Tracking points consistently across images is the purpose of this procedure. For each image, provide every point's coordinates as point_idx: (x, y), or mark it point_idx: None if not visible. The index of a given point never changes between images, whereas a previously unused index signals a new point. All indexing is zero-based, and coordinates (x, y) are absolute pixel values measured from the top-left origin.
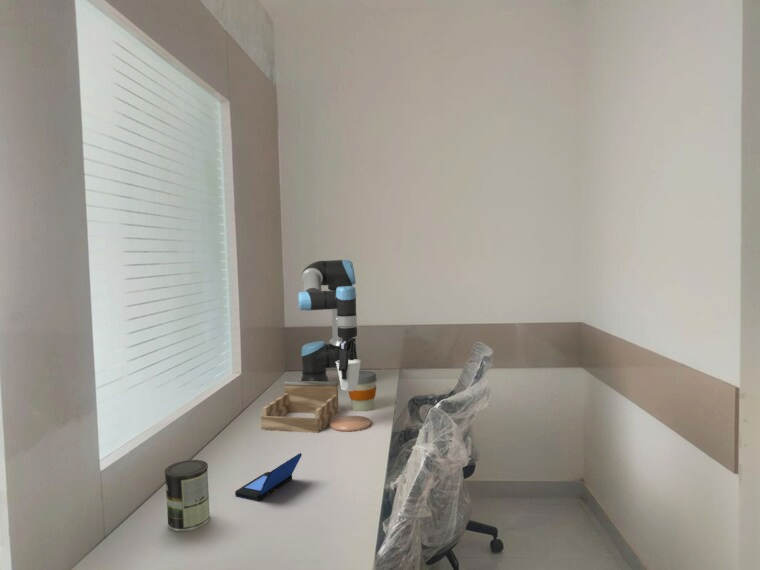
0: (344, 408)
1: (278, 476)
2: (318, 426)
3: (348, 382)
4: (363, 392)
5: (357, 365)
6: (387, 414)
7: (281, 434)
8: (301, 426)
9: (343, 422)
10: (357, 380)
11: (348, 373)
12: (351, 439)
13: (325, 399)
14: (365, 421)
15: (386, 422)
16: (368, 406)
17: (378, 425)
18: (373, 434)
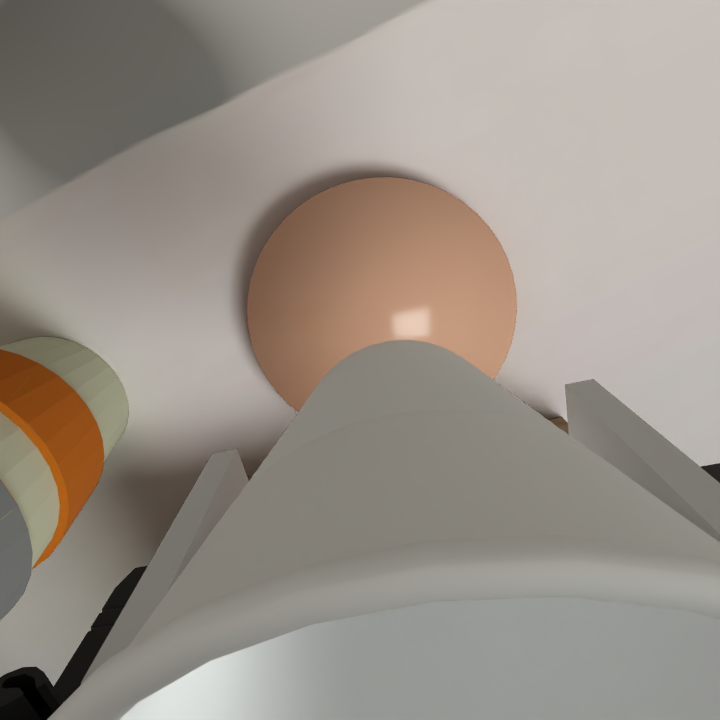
0: (119, 495)
1: None
2: (568, 434)
3: (624, 414)
4: (37, 416)
5: (594, 509)
6: (74, 183)
7: None
8: None
9: None
10: (401, 364)
11: (710, 515)
12: (637, 172)
13: None
14: (337, 229)
15: (237, 101)
16: (64, 353)
17: (321, 129)
18: (511, 68)
